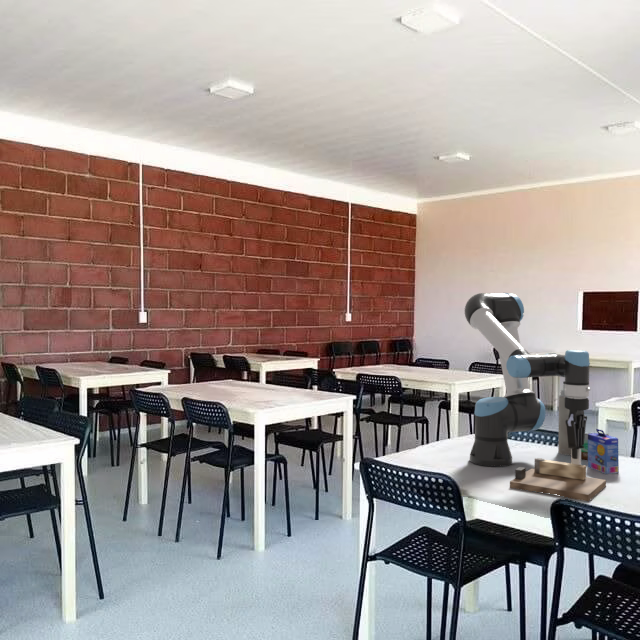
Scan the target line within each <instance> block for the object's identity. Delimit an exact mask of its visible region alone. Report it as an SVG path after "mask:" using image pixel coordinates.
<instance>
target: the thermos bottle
mask: <svg viewBox="0 0 640 640" xmlns="http://www.w3.org/2000/svg"><path fill="white" fill-rule="evenodd" d="M562 382H563V386H562V389H560V394H559V395H558V450H557V453H558V454H559V455H563V456H571V448H568V436H567V426H566V422H565V421H566V420H569V419H568V418H569V412H570V410H569V409H566V408H565V397H566V396H565V380H564V381H562Z"/></svg>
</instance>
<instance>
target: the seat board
mask: <svg viewBox="0 0 640 640" xmlns="http://www.w3.org/2000/svg"><path fill="white" fill-rule="evenodd" d="M526 469H527V468H526V467H523V466H519V467H517V468H515V470H514V473H515V474H514V478H513V479H512V480H510V481H509V488H511V489H515V488H516V490H520V489H522V490H521V491H526V490H528V491H527V492H532V491H536V492H535V493H537V492H543V493H550V494H557V495H560V496H564V497H563V498H566V497H568V498H567V499H571V500H572V499H573V500H578V501H583V502H589V501H591V500H593V498H594V497H595V496H596V495H598V494H599V493H600V492H602V490H604V489H605V488H606V487H607V479H602V478H596V477H595V478H594V477H590V476H589V477H588V476H586V478H585V479H584V480H580V479H574V478H568V477H561V476H555V475H549V474H538V473H535V472H534V468H530V469H529V470H526ZM543 493H542V494H543ZM560 496H559V497H560Z"/></svg>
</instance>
